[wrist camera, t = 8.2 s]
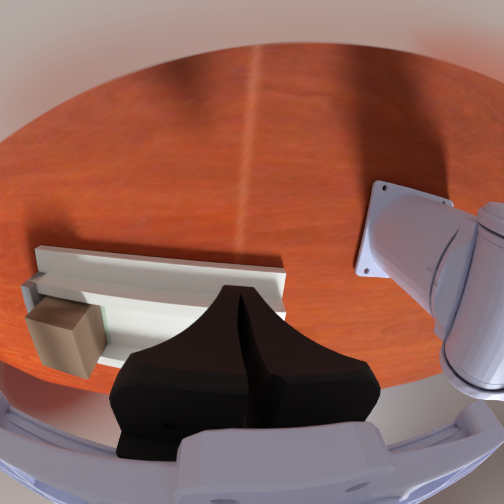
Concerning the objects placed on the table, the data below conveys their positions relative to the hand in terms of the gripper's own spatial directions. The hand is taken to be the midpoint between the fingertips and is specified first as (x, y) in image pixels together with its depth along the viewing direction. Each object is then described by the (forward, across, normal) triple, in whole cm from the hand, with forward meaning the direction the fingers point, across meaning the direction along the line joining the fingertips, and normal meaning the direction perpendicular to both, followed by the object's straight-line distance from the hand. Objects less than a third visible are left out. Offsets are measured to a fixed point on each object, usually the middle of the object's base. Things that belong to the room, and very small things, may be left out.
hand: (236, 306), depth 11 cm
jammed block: (+8, +14, +8) cm, 18 cm away
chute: (+9, +7, +8) cm, 14 cm away
